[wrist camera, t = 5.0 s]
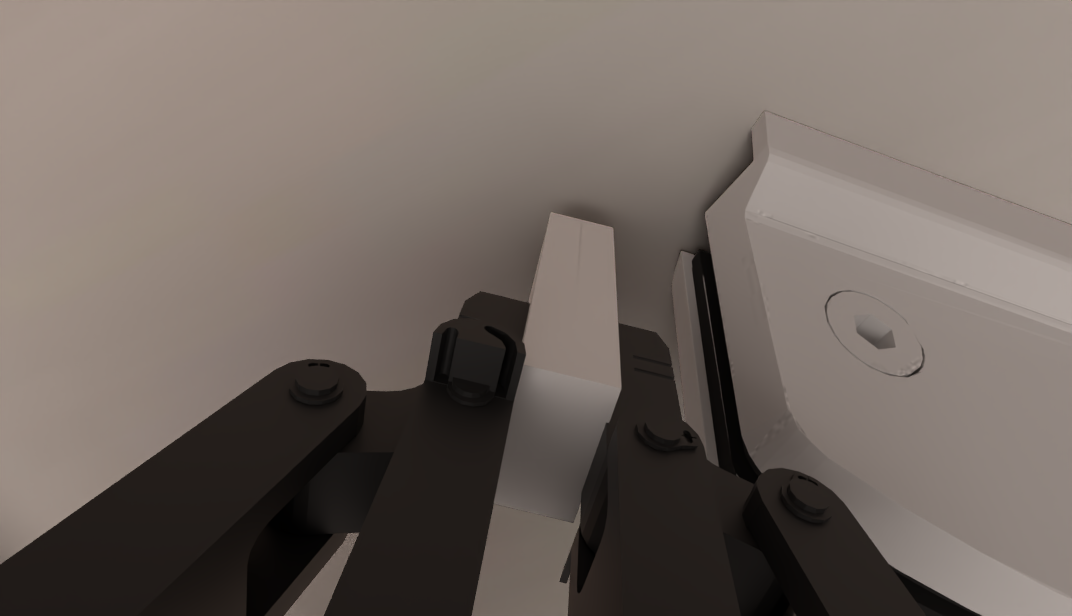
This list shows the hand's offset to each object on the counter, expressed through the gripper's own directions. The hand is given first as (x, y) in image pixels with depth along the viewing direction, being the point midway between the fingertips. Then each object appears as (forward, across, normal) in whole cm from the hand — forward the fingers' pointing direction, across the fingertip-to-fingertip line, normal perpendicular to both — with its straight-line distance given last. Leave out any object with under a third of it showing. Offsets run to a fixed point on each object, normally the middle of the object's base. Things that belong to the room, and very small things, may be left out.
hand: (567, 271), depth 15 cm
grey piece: (+2, -11, 0) cm, 11 cm away
